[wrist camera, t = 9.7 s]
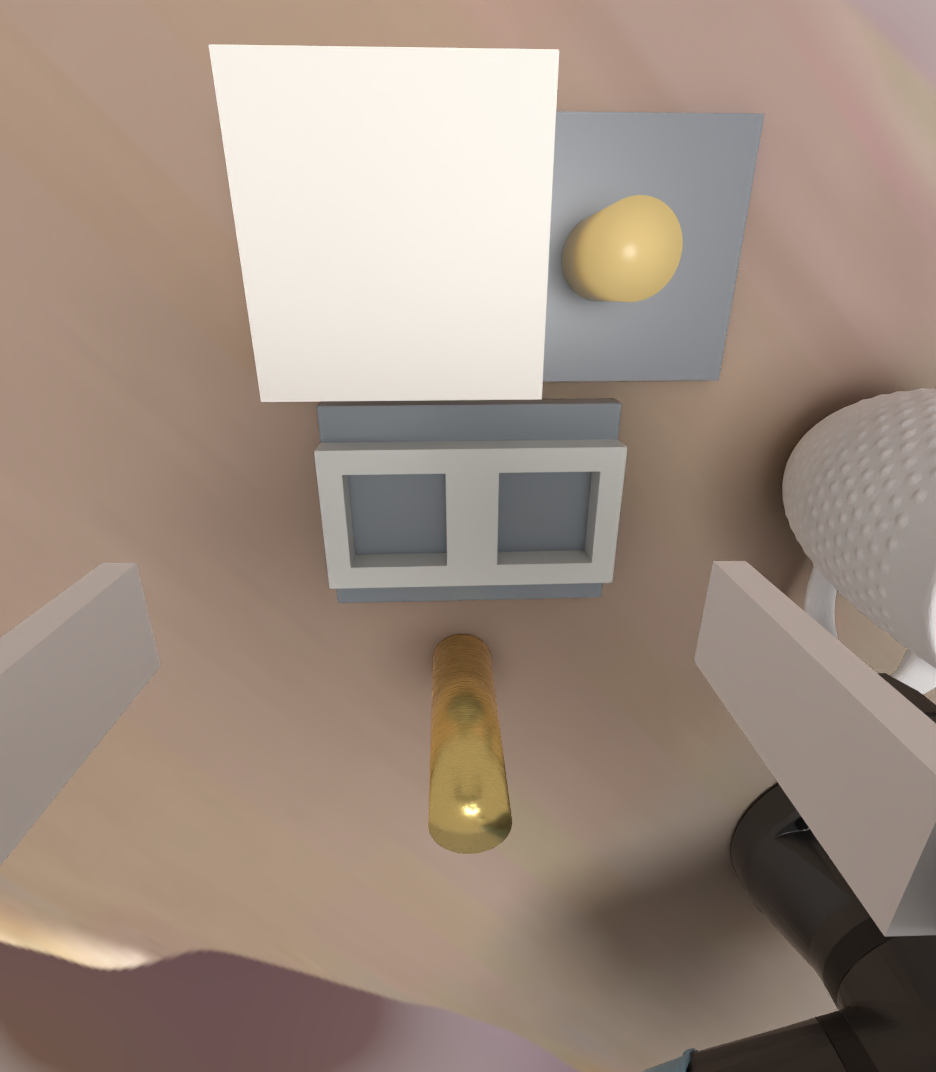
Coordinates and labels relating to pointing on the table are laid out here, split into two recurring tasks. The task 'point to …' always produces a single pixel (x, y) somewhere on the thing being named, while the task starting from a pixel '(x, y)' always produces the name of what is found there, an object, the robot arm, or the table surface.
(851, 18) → the table surface
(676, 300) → the tile
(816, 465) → the mug
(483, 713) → the peg
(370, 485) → the board
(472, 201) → the block
